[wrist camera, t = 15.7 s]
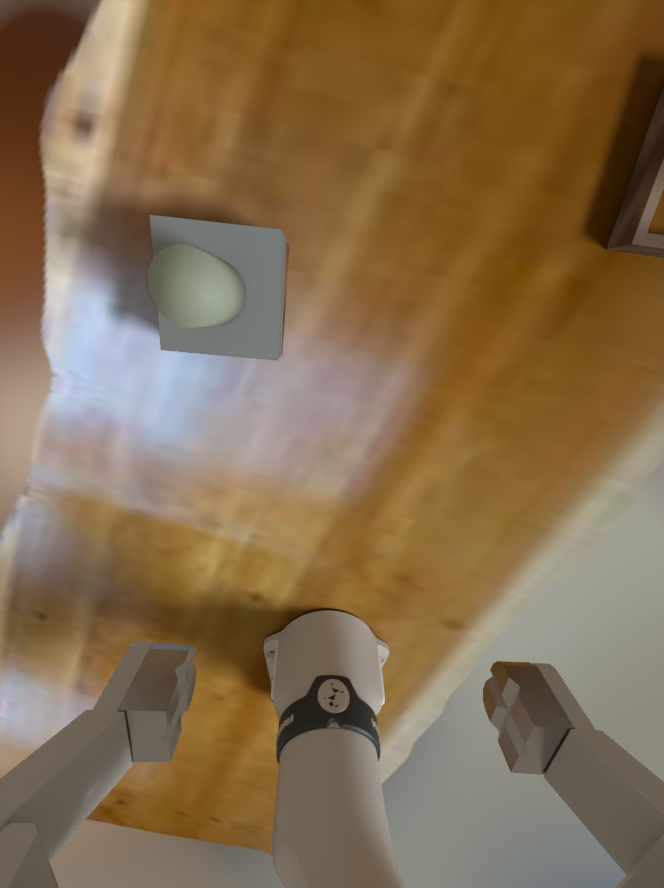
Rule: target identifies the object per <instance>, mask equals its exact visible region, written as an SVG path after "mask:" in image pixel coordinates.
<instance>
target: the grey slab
mask: <svg viewBox="0 0 664 888" xmlns="http://www.w3.org/2000/svg"><path fill="white" fill-rule="evenodd" d="M150 227H151V239H152V250H153V258H154V257H155V256H156V254H157V253H158V252H160V251H161V250H162V249H164V248H166V247H168V246H171V245H176V244H184V245H189V246H193V247H195V248H197V249H200V250H202V251H204V252H206V253H208V254H211V255H213V256H215V257H217V258H219V259H222V260H224V261H226V262H228V263H229V264H231V265H232V266H233V267H234V268H235V269H236V270H237V271H238V272H239V274H240V275H241V277H242V279H243V281H244V284H245V288H246V302H245V306H244V309H243V311H242V312H241V314H240V315H239V316H238V317H237V318H236V319H235V320H234V321H232V322H230V323H227V324H222V325H214V326H206V327H197V328H186V327H181V326H178V325H176V324H174V323H172V322H170V321H169V320H167V319H166V318H165V317H164V316H163V315H162V314H161V313H160V312H159V311H158V321H159V333H160V345H161V350H167V351H178V352H189V353H201V354H212V355H223V356H234V357H246V358H257V359H268V360H278V359H279V358H280V357H281V355H282V332H283V306H284V280H285V253H286V237H285V235H284V233H283V231H282V229H273V228H264V227H255V226H246V225H237V224H228V223H219V222H210V221H201V220H192V219H183V218H174V217H165V216H156V215H150Z"/></svg>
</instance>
